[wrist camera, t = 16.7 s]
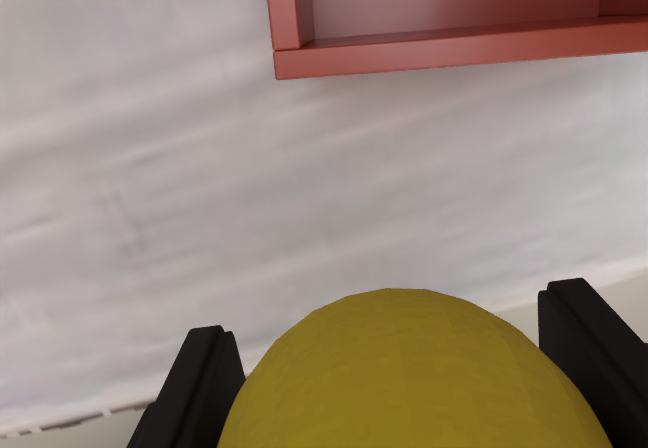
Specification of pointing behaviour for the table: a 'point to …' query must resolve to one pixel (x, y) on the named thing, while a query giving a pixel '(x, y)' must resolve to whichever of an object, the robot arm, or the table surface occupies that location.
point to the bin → (445, 33)
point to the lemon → (408, 382)
